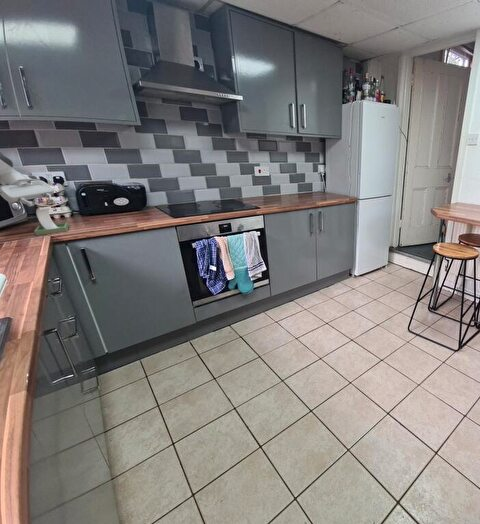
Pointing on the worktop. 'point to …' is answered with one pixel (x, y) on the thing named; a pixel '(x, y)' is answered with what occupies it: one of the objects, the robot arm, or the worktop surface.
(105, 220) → the worktop surface
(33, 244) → the worktop surface
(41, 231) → the tray
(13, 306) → the worktop surface
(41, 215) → the light grey curved piece
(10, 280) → the worktop surface
